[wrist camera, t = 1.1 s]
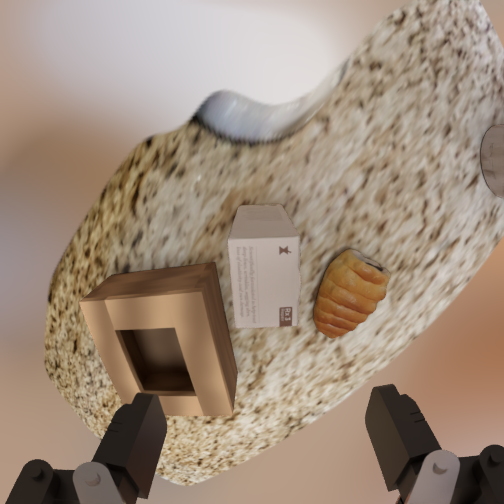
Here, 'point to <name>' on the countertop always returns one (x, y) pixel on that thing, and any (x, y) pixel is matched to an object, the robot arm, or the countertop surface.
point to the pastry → (349, 293)
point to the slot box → (166, 338)
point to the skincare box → (264, 267)
